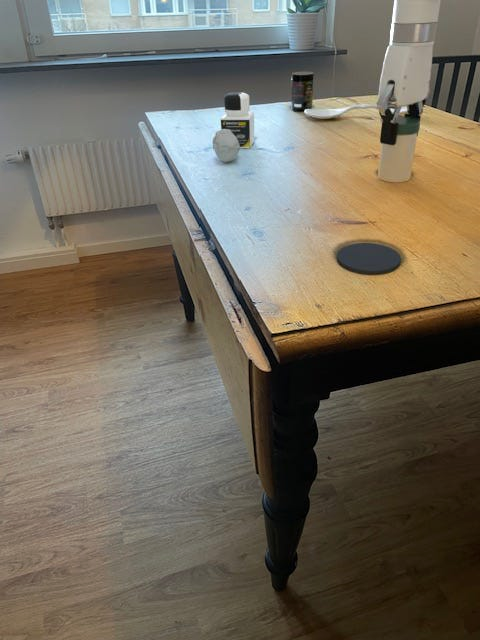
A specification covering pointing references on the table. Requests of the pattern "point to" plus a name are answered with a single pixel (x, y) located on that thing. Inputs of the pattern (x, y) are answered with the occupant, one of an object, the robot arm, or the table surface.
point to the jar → (397, 159)
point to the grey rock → (225, 145)
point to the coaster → (368, 258)
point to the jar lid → (407, 125)
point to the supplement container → (302, 91)
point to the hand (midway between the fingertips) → (399, 139)
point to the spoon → (343, 111)
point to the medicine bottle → (239, 118)
